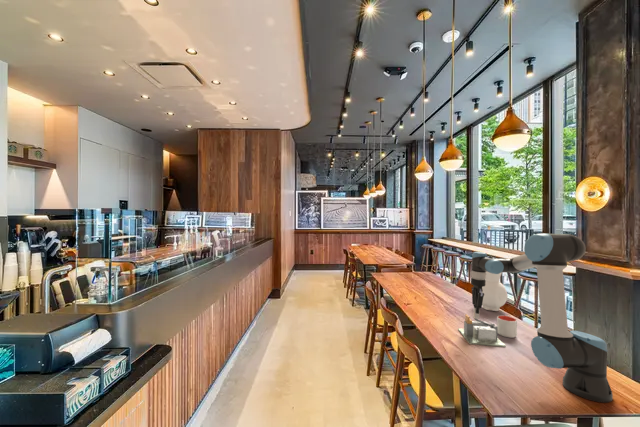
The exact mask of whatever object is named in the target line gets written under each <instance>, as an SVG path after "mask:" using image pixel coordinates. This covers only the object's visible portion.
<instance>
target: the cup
mask: <svg viewBox="0 0 640 427" xmlns="http://www.w3.org/2000/svg"><path fill="white" fill-rule="evenodd" d="M496 318H497V321H496V326H497V327H498V334H497V335H499V336H501V337H504V338H511V339H512V338H516V337H517V334H518V333H517V332H518V319H517V318H514V317H512V316H507V315H498V316H496Z"/></svg>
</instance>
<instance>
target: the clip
mask: <svg viewBox="0 0 640 427" xmlns="http://www.w3.org/2000/svg"><path fill="white" fill-rule="evenodd" d="M464 316H465V317H464V318H465V319H464V321H466V322H467V323H468V324H472V321H473V320H472V319H471V316H469V315H468V314H465V315H464Z"/></svg>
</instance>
